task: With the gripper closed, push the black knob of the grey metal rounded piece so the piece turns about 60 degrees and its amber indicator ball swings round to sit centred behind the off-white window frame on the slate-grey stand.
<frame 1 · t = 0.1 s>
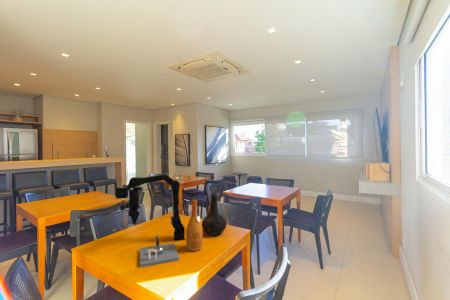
hand: (134, 222, 140), 15 cm above the table, fingers open, 9 cm apart
glass bottle: (214, 233, 161), on the table
stand: (158, 255, 128), on the table
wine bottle: (194, 248, 136), on the table
grey metal rounded piece: (154, 245, 130), point 5 cm above the table, hinge at 0.0°
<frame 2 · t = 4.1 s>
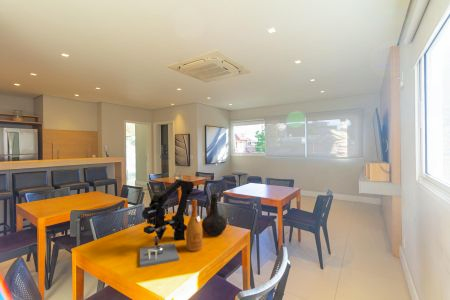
hand: (159, 239, 137), 5 cm above the table, fingers closed
grey metal rounded piece: (154, 245, 130), point 5 cm above the table, hinge at 4.4°, touching gripper
everything else where it was.
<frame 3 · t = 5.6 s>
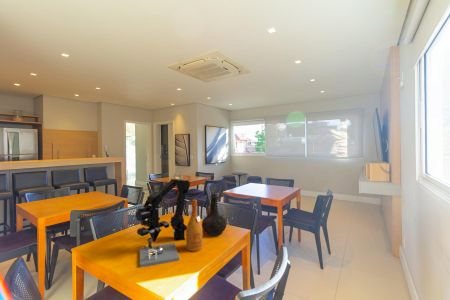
hand: (154, 242, 135), 5 cm above the table, fingers closed
grey metal rounded piece: (152, 246, 128), point 5 cm above the table, hinge at 33.8°, touching gripper
everything else where it was.
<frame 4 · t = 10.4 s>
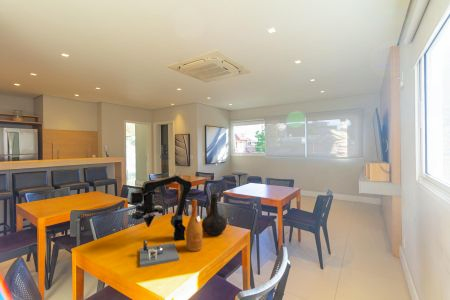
hand: (148, 226, 140), 12 cm above the table, fingers closed
grey metal rounded piece: (151, 248, 126), point 5 cm above the table, hinge at 64.7°
everything else where it was.
at the end: grey metal rounded piece at +65° (first picture: +0°) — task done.
